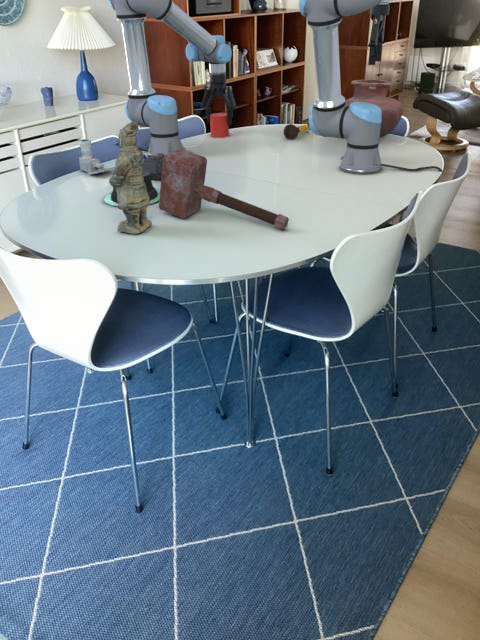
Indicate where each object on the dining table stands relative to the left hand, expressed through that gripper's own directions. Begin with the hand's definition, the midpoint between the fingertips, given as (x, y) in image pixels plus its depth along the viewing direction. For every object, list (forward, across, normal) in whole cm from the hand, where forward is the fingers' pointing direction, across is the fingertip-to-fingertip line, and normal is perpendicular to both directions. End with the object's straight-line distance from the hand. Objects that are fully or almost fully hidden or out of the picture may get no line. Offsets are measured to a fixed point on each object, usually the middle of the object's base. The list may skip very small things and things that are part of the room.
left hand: (219, 123), depth 264 cm
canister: (+5, 0, 0) cm, 5 cm away
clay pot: (+5, -66, -20) cm, 69 cm away
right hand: (-27, -70, -11) cm, 76 cm away
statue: (+5, -43, +117) cm, 125 cm away
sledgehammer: (+5, -63, +99) cm, 117 cm away
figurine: (+5, -35, -17) cm, 39 cm away
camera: (+5, +9, +77) cm, 77 cm away
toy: (+5, -15, +73) cm, 74 cm away
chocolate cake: (+5, -24, +94) cm, 97 cm away
